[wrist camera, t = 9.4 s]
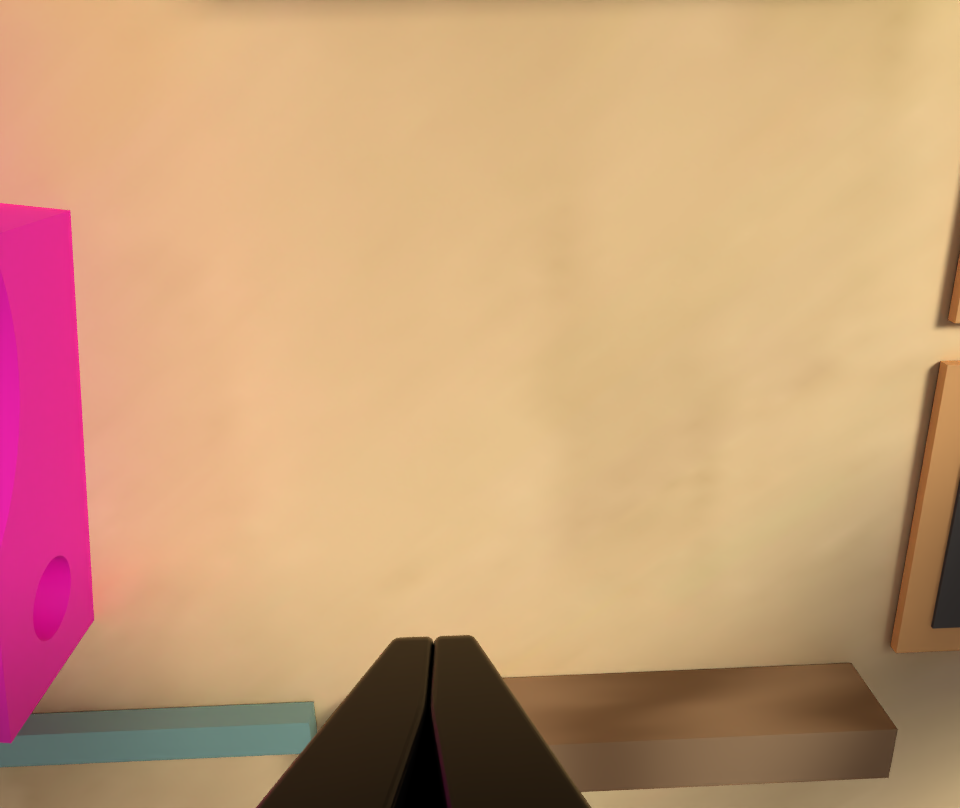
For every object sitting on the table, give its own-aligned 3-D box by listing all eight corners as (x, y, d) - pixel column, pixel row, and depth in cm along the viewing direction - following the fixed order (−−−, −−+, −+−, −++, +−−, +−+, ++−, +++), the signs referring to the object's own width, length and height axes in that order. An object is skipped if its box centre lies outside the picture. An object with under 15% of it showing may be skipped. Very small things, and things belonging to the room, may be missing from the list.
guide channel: (986, -196, 16) (1080, -246, 13) (843, 707, 23) (888, 777, 21) (290, -182, 15) (261, -231, 13) (372, 728, 23) (363, 801, 20)
